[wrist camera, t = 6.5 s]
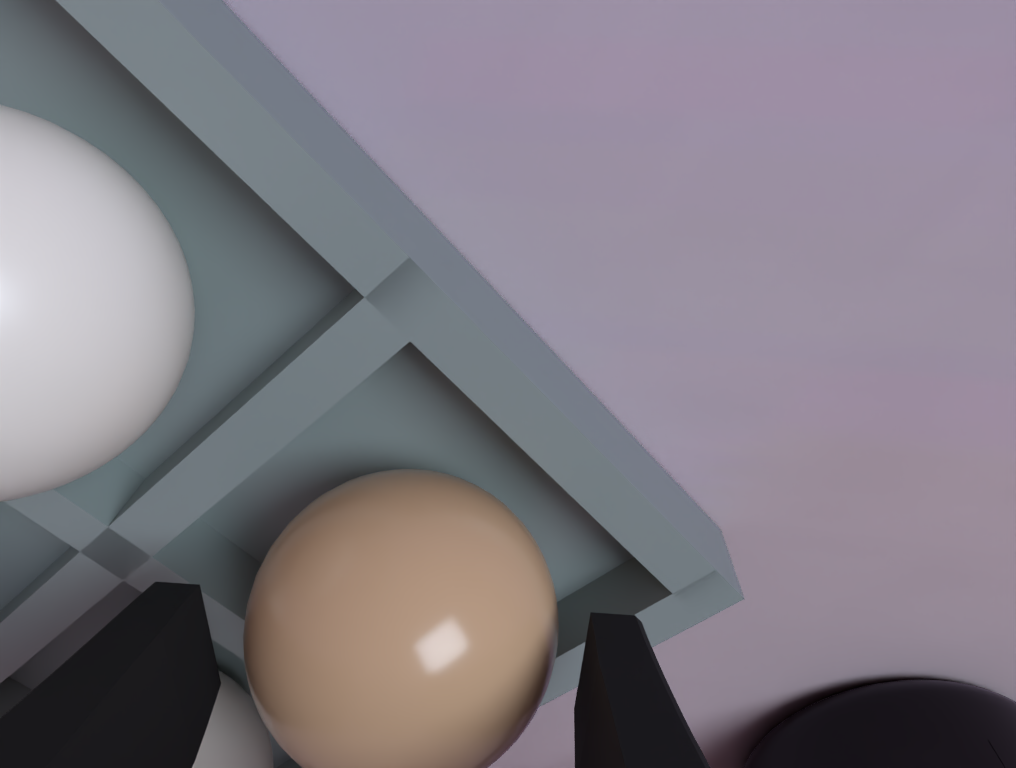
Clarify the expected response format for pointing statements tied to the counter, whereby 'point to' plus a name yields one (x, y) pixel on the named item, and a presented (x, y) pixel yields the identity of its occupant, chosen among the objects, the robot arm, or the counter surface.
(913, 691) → the supplement bottle
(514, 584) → the brown egg
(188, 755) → the robot arm
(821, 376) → the counter surface
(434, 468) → the egg carton
